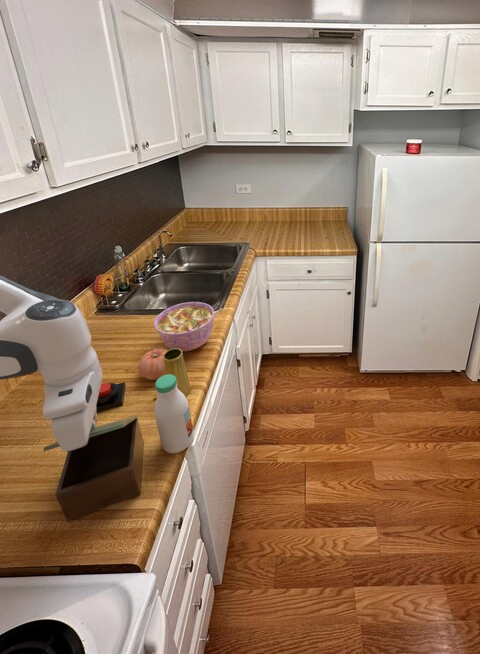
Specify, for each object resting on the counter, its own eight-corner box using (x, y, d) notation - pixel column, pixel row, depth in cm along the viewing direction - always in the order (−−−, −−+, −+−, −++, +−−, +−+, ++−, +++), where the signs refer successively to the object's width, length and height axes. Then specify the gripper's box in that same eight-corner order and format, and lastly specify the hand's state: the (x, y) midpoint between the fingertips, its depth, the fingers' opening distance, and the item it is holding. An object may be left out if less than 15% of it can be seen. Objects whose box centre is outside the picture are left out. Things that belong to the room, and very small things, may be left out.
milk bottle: (184, 457, 81) (171, 395, 74) (155, 451, 83) (140, 391, 75) (199, 429, 88) (189, 371, 81) (173, 425, 90) (160, 367, 82)
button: (96, 398, 94) (94, 393, 93) (98, 389, 97) (97, 385, 97) (110, 394, 95) (109, 390, 95) (112, 385, 98) (111, 381, 98)
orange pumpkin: (139, 389, 101) (133, 369, 98) (142, 366, 110) (137, 347, 107) (177, 380, 105) (173, 360, 102) (177, 358, 114) (173, 339, 111)
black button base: (86, 415, 92) (83, 406, 91) (92, 395, 99) (89, 386, 98) (122, 405, 96) (120, 396, 94) (125, 386, 103) (123, 377, 101)
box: (140, 494, 73) (132, 468, 70) (67, 522, 68) (55, 495, 65) (144, 442, 85) (137, 417, 82) (81, 462, 80) (71, 437, 77)
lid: (123, 427, 68) (123, 423, 69) (43, 451, 63) (43, 447, 64) (136, 417, 81) (136, 414, 82) (71, 437, 77) (71, 434, 77)
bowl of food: (189, 322, 134) (184, 297, 129) (228, 335, 126) (225, 309, 122) (147, 352, 117) (140, 324, 113) (190, 369, 109) (184, 340, 105)
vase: (180, 381, 104) (173, 344, 99) (195, 388, 102) (188, 350, 96) (164, 395, 99) (156, 357, 94) (179, 402, 97) (171, 364, 91)
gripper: (68, 348, 73) (85, 395, 78) (38, 421, 56) (62, 475, 61) (101, 340, 76) (115, 387, 81) (82, 409, 58) (101, 462, 63)
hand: (92, 425), depth 71 cm, fingers closed
